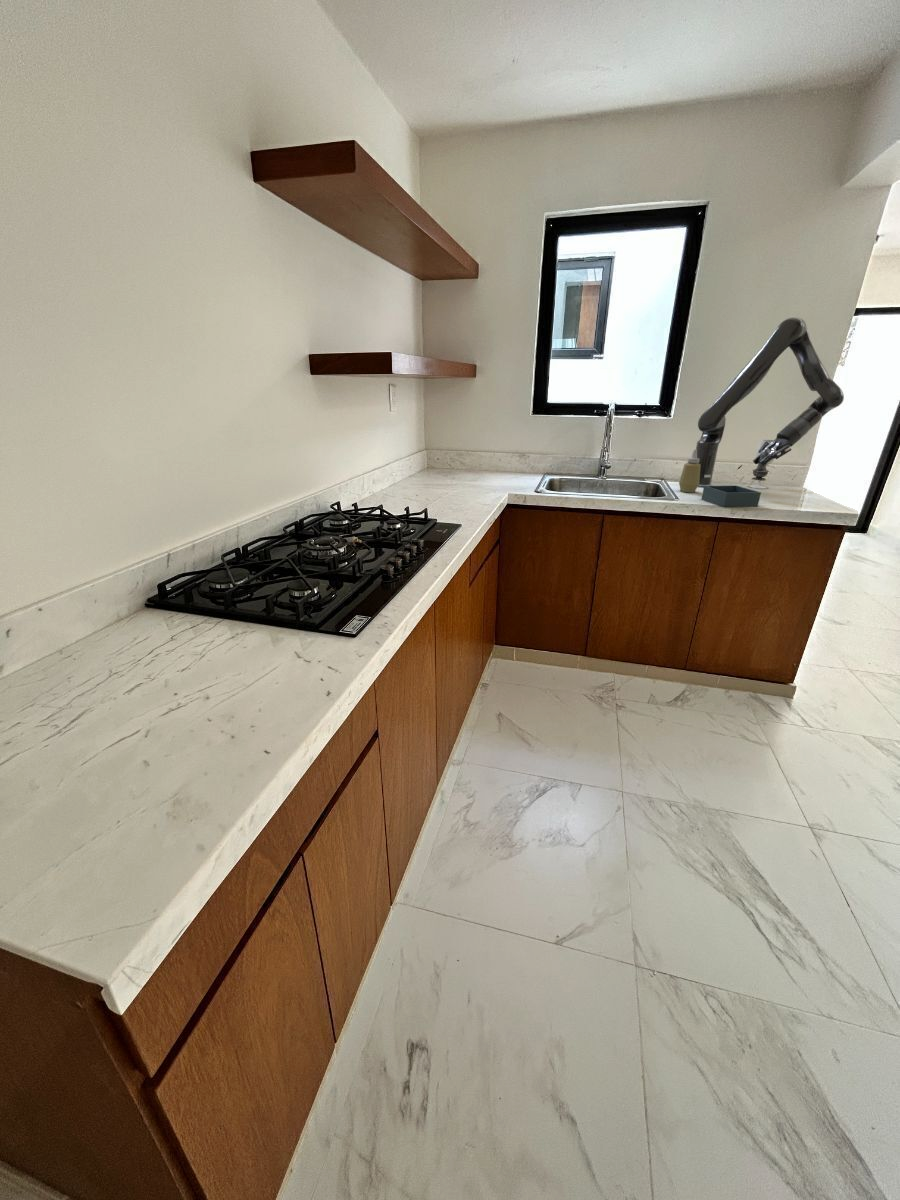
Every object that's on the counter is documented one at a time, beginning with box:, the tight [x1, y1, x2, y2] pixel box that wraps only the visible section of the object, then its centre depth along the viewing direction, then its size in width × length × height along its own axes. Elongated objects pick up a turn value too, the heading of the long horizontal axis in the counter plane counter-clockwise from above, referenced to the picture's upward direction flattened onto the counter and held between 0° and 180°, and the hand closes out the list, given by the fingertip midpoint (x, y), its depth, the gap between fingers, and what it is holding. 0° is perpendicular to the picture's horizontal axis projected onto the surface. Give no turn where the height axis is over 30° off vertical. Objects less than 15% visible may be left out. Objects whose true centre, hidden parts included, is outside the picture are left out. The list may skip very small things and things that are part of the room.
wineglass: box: [749, 439, 776, 490], centre depth 230 cm, size 8×8×21 cm
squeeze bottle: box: [678, 449, 701, 494], centre depth 219 cm, size 8×8×18 cm
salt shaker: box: [751, 450, 770, 482], centre depth 204 cm, size 6×6×12 cm
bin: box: [701, 485, 762, 508], centre depth 200 cm, size 15×14×6 cm
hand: (758, 463), depth 203 cm, fingers closed on salt shaker, 3 cm apart
